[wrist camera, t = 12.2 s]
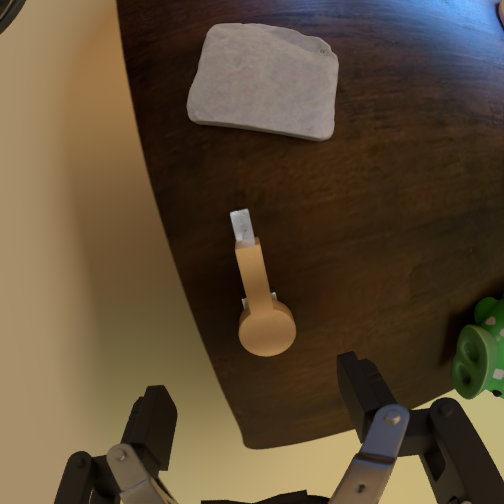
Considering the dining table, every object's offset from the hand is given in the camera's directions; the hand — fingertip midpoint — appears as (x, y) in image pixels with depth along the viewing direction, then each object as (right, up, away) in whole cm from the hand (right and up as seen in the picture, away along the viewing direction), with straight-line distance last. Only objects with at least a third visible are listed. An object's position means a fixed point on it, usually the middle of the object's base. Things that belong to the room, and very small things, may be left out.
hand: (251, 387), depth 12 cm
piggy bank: (+34, -4, +19) cm, 39 cm away
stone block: (+1, +21, +10) cm, 23 cm away
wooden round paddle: (+1, +3, +14) cm, 15 cm away
